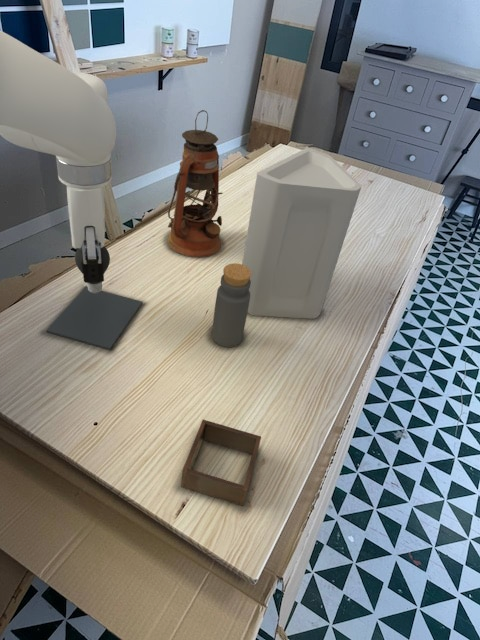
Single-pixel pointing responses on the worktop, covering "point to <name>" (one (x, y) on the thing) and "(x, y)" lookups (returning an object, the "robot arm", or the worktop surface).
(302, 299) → the triangular concrete planter
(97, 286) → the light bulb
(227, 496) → the crate
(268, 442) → the worktop surface
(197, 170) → the lantern
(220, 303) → the bottle
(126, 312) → the mat
